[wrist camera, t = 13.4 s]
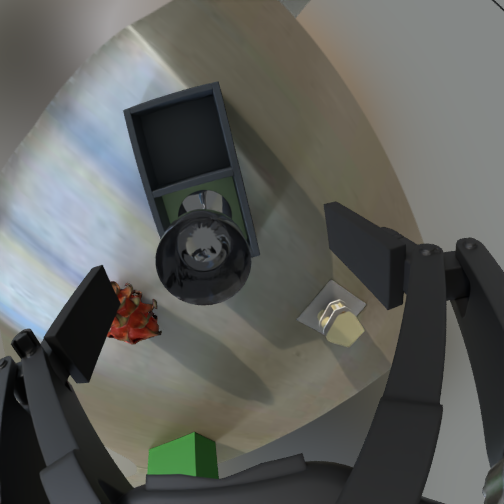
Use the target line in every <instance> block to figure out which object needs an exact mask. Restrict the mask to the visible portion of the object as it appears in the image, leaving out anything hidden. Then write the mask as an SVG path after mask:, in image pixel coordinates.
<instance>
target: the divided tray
mask: <svg viewBox="0 0 504 504" xmlns="http://www.w3.org/2000/svg"><path fill="white" fill-rule="evenodd" d="M123 112H124V116H125V120H126V125H127V129H128V133H129V137H130V140H131V144H132V148H133V152H134V155H135V159H136V163H137V166H138V170H139V173H140V177H141V180H142V183H143V187H144V190H145V193H146V197H147V200H148V203H149V206H150V209H151V212H152V215H153V218H154V221H155V224H156V227H157V230H158V233H159V236H160V239H161V238H162V236H163V234H164V233H165V231H166V230H167V228H168V226H169V225H170V224H171V223H172V222H173V221H174V220H175V219H177V218H178V211H179V207H180V205H181V203H182V202H183V200H184V199H185V198H186V197H187V196H188V195H190V194H191V193H193V192H195V191H199V190H212V191H215V192H217V193H219V194H221V195H222V196H223V197H224V198H225V199H226V200H227V201H228V203H229V205H230V207H231V211H232V220H233V221H234V222H235V223H236V224H237V225H238V227H239V228H240V229H241V231H242V233H243V235H244V237H245V239H246V241H247V243H248V246H249V250H250V254H251V258H252V257H255V256H259V255H260V252H259V247H258V243H257V239H256V235H255V230H254V226H253V222H252V218H251V214H250V209H249V205H248V201H247V197H246V192H245V188H244V184H243V180H242V176H241V172H240V167H239V163H238V159H237V155H236V151H235V147H234V143H233V138H232V134H231V130H230V126H229V122H228V118H227V114H226V110H225V106H224V102H223V97H222V93H221V89H220V85H219V82H214V83H212V84H211V83H209V84H205V85H201V86H197V87H193V88H190V89H186V90H182V91H179V92H175V93H172V94H169V95H165V96H162V97H159V98H156V99H153V100H150V101H147V102H144V103H141V104H139V105H136V106H133V107H130V108H128V109H125V110H123Z"/></svg>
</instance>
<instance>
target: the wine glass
mask: <svg viewBox="0 0 504 504" xmlns="http://www.w3.org/2000/svg"><path fill="white" fill-rule="evenodd" d="M250 268H251V254H250V250H249V246H248V243H247V241H246V239H245V237H244V235H243V233H242V231H241V229H240V228H239V227H238V225H237V224H236V223H235V222H234V221H233V220H232V211H231V207H230V205H229V203H228V201H227V200H226V199H225V198H224V197H223V196H222V195H221V194H219V193H217V192H215V191H212V190H199V191H195V192H193V193H191V194H190V195H188V196H187V197H186V198H185V199H184V200H183V202H182V203H181V205H180V207H179V211H178V218H177V219H175V220H174V221H173V222H172V223H171V224H170V225H169V226H168V228H167V230H166V231H165V233H164V234H163V236H162V238H161V240H160V243H159V245H158V248H157V252H156V269H157V273H158V276H159V278H160V280H161V282H162V284H163V285H164V287H165V288H166V289H167V290H168V291H169V292H170V293H171V294H172V295H174V296H175V297H177V298H178V299H180V300H182V301H185V302H187V303H190V304H195V305H213V304H217V303H220V302H223V301H225V300H227V299H229V298H230V297H232V296H234V295H235V294H236V293H237V292H238V291H239V290H240V289H241V288H242V287H243V285H244V284H245V282H246V280H247V278H248V276H249V273H250Z"/></svg>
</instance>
